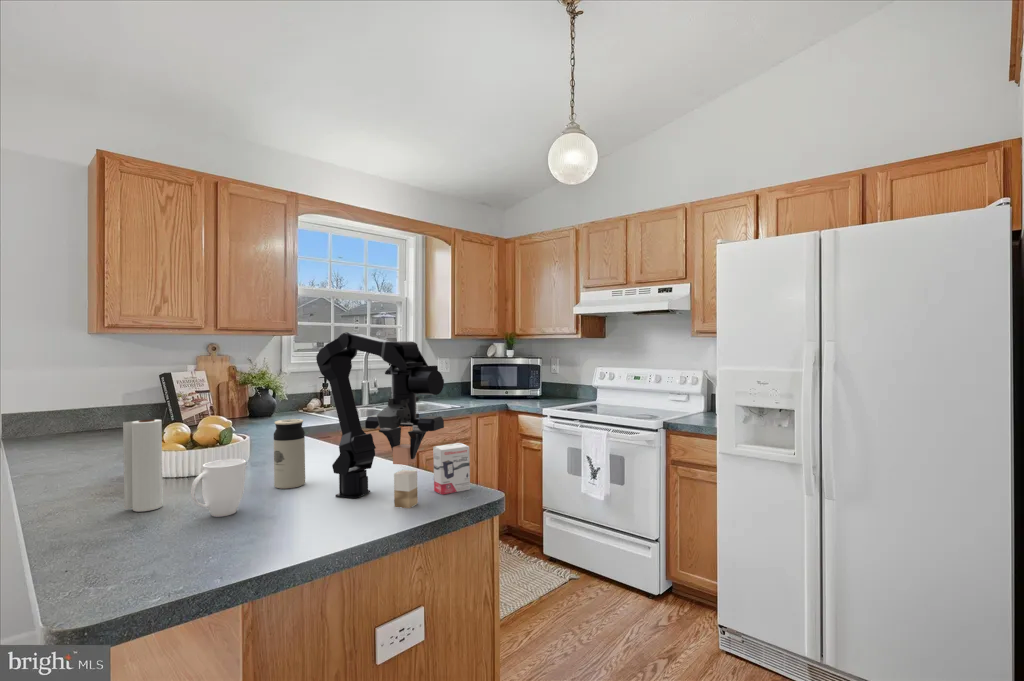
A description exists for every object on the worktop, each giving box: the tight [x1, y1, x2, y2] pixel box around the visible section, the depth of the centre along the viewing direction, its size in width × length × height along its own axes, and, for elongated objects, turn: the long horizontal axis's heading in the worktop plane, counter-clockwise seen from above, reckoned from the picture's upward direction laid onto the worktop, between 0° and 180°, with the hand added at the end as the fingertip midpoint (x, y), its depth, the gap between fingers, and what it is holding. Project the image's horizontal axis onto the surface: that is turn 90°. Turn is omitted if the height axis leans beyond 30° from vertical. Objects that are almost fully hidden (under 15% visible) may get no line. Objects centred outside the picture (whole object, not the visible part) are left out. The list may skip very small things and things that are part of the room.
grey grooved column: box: [122, 418, 164, 513], centre depth 130 cm, size 7×6×21 cm
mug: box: [190, 458, 247, 518], centre depth 123 cm, size 12×9×12 cm
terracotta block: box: [392, 443, 417, 466], centre depth 129 cm, size 4×4×4 cm
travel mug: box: [273, 418, 306, 490], centre depth 149 cm, size 8×8×18 cm
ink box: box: [432, 442, 471, 496], centre depth 141 cm, size 8×5×12 cm, turn 123°
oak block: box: [393, 487, 419, 509], centre depth 129 cm, size 4×4×4 cm
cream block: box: [393, 469, 418, 492], centre depth 129 cm, size 4×4×4 cm
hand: (404, 458), depth 129 cm, fingers closed on terracotta block, 4 cm apart
